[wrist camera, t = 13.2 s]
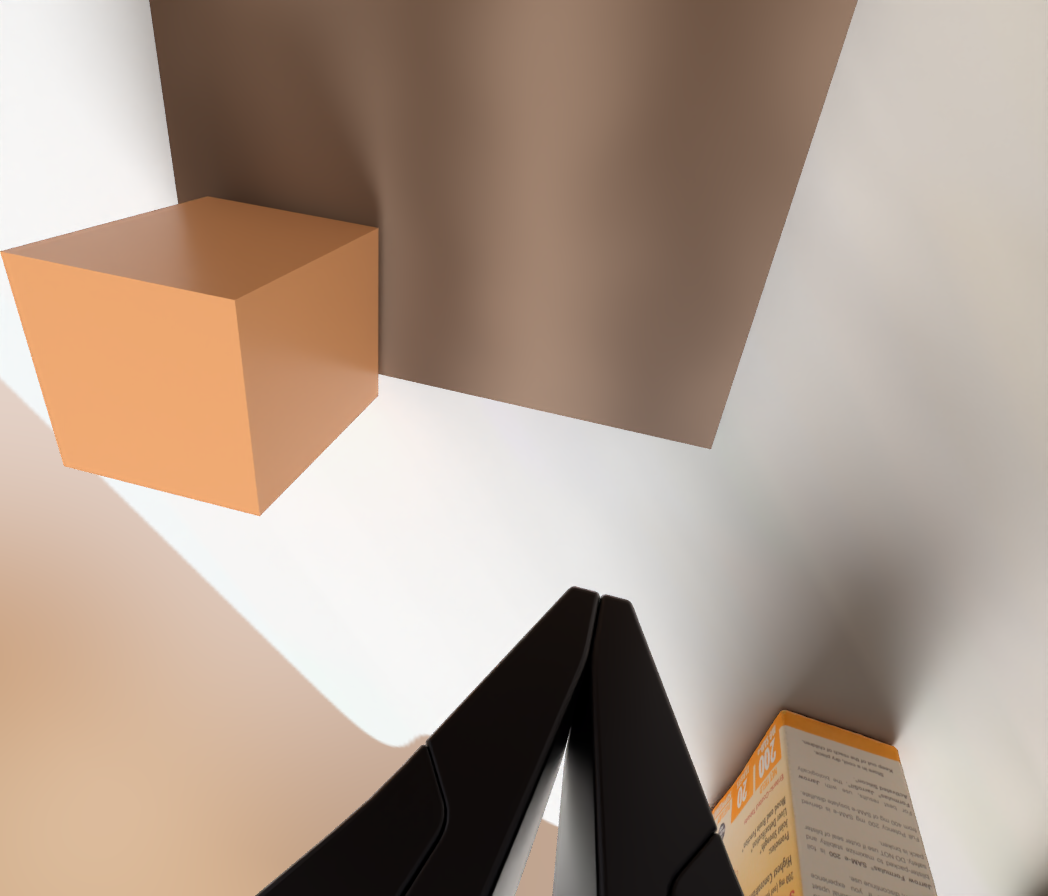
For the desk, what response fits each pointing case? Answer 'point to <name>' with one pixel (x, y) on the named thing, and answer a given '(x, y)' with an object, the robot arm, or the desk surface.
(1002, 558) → the desk surface
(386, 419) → the desk surface
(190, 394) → the peach wooden cube
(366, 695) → the desk surface
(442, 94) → the walnut board
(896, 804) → the supplement box
